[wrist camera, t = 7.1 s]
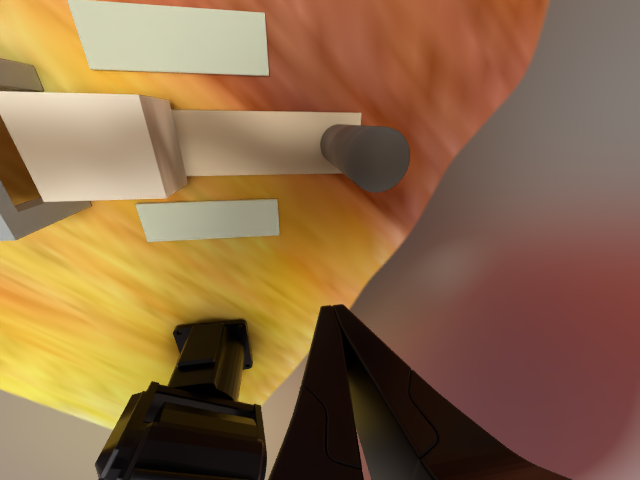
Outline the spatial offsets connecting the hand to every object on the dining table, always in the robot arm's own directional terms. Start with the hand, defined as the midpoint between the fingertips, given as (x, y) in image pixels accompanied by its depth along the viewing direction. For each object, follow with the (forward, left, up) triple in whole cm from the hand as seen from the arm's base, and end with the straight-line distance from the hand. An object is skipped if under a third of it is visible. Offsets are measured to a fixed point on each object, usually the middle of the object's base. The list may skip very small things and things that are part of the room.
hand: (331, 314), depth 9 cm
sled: (+5, +5, -12) cm, 14 cm away
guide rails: (+5, +7, -12) cm, 15 cm away
